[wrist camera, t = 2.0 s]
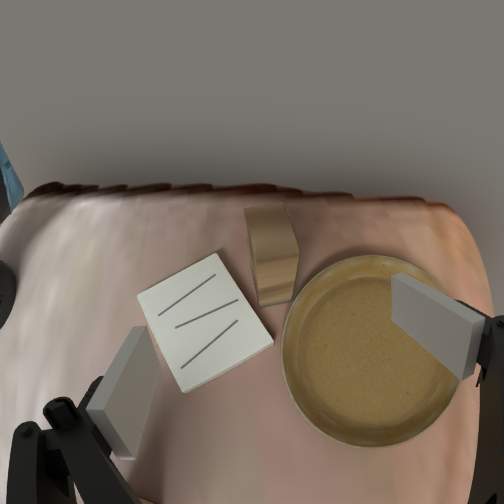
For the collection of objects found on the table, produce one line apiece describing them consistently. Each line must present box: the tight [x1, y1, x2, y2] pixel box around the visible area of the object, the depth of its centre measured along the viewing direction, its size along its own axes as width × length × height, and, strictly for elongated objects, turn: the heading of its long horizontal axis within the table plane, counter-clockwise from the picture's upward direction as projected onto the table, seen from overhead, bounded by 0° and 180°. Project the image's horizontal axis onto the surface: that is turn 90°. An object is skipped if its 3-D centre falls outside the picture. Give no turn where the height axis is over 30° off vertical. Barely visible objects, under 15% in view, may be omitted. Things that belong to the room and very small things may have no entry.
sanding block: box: [244, 202, 300, 308], centre depth 33 cm, size 6×4×12 cm, turn 11°
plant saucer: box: [281, 255, 461, 449], centre depth 31 cm, size 24×24×3 cm
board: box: [137, 253, 274, 393], centre depth 35 cm, size 14×12×2 cm
